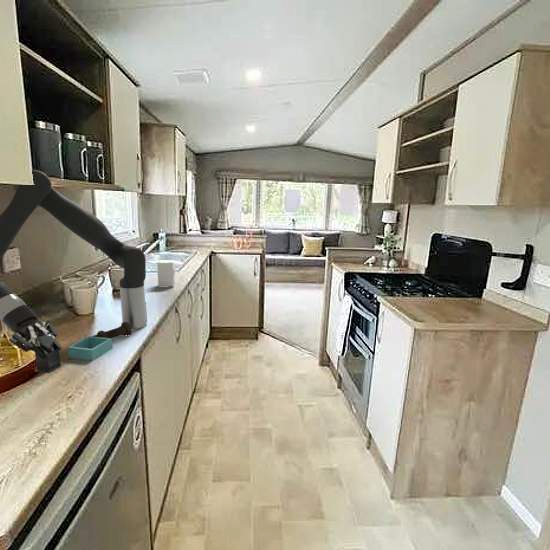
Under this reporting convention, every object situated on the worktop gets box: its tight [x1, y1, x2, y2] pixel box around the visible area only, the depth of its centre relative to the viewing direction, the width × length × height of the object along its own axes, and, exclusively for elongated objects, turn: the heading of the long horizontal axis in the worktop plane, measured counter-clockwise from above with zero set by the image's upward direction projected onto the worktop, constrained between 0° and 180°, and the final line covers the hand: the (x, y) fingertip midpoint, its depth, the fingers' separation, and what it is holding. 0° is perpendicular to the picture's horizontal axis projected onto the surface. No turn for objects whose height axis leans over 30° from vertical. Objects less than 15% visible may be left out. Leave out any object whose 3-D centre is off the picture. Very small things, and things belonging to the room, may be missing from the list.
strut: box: [34, 333, 61, 371], centre depth 112 cm, size 4×4×10 cm
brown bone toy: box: [92, 322, 133, 340], centre depth 138 cm, size 6×5×15 cm
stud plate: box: [34, 361, 68, 374], centre depth 113 cm, size 7×7×5 cm
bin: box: [67, 335, 114, 361], centre depth 124 cm, size 10×9×5 cm
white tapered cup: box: [156, 259, 176, 288], centre depth 220 cm, size 9×9×15 cm
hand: (52, 353), depth 112 cm, fingers closed on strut, 4 cm apart
